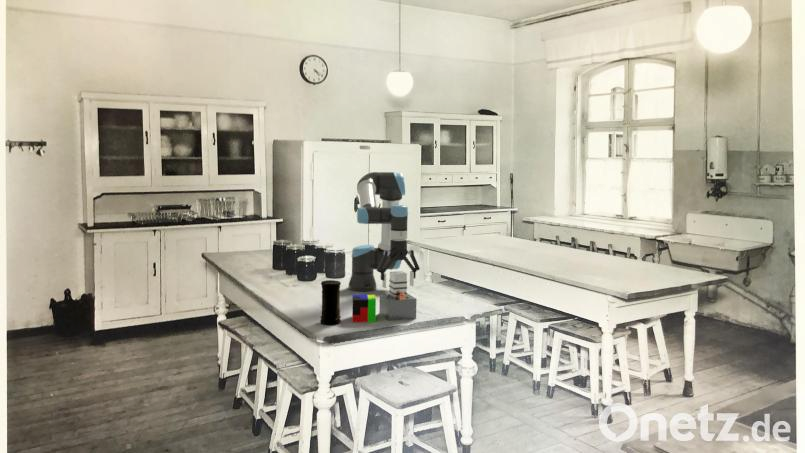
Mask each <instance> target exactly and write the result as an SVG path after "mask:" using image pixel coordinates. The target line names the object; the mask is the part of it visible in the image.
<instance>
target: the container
mask: <svg viewBox="0 0 805 453" xmlns="http://www.w3.org/2000/svg"><path fill="white" fill-rule="evenodd" d="M341 284H342V283H341V281H339V280H332V279H331V280H330V279H329V280H322V281H321V283H320V285H321V315H320V320H319V322H320V324H321V325H324V326H337V325H340V324H341V322H342V321H341V318H342V317H341V310H340V308H341V307H340V303H341V302H340V301H341V300H340V299H341V298H340V297H341V296H340V294H341V291H340V289H341ZM339 323H340V324H339ZM336 324H337V325H336Z"/></svg>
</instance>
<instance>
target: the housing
mask: <svg viewBox="0 0 805 453" xmlns="http://www.w3.org/2000/svg"><path fill="white" fill-rule="evenodd" d="M417 300H418V299H417V298H416V297H414V296H412V295H411V294H409V293H408V292H407V294H406V296H405V295H404V292H400V295H398V299H392V298H391V297H389V293H382V294H379V311H378V312H379V315H380V316H382V317H383V318H384V319H386V320H387V321H388V322H389V321H391V322H392V321H400V320H401V321H402V320H414V319H417Z"/></svg>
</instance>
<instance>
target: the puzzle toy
mask: <svg viewBox="0 0 805 453" xmlns="http://www.w3.org/2000/svg"><path fill="white" fill-rule="evenodd" d="M376 301H377V300H376V294H352V306H351V307H352V316H351V317H352V323H376V322H377V321H376V317H377V314H376V312H377V310H376V306H377V302H376Z"/></svg>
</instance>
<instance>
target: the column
mask: <svg viewBox="0 0 805 453" xmlns="http://www.w3.org/2000/svg"><path fill="white" fill-rule="evenodd" d="M388 282H389V284H388V286H389V291H388V294H389V297H391V298H392V299H398V295H400V292H404V295H405V296H406V294H407V293H408V292H407V291H408V290H407V289H408V286H407V284H408V273H406V271H405V272H404V271H403V270H402V271H401V270H400V271H397V270H395V271H389V279H388Z"/></svg>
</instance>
